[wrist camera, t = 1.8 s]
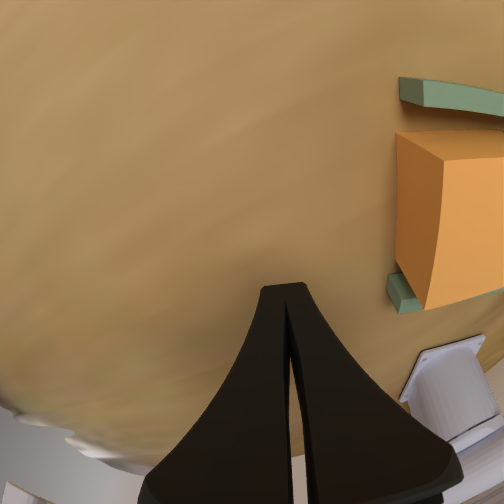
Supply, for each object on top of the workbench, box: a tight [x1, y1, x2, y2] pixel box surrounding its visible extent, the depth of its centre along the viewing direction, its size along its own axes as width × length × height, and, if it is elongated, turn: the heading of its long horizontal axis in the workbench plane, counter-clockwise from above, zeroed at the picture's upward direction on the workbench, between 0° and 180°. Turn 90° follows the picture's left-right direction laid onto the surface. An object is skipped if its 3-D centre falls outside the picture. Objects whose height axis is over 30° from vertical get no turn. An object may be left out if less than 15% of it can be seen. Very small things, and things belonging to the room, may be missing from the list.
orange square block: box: [395, 130, 504, 311], centre depth 13 cm, size 8×8×5 cm
